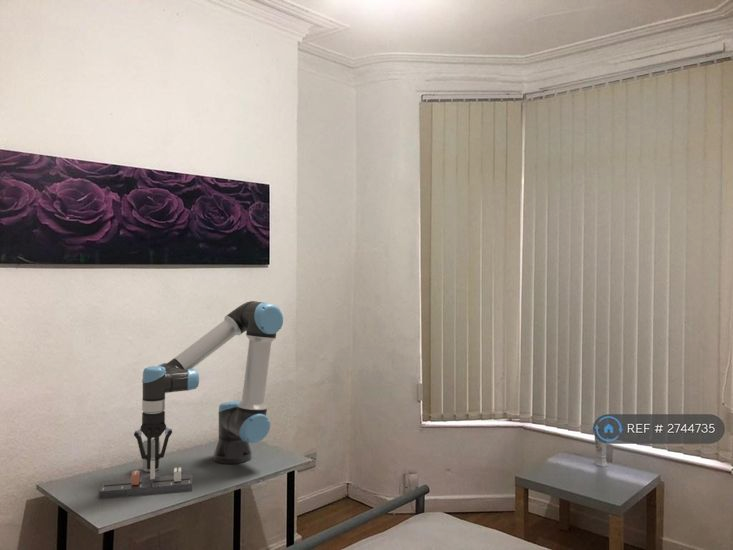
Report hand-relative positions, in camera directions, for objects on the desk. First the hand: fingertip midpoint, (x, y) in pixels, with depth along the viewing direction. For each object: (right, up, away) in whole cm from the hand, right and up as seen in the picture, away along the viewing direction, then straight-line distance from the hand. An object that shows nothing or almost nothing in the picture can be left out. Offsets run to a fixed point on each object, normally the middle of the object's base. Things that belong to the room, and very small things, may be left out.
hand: (152, 477), depth 212 cm
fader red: (-5, -1, -2) cm, 6 cm away
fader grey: (+8, -1, +2) cm, 8 cm away
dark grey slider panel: (-2, -4, 0) cm, 4 cm away
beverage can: (-7, -4, +19) cm, 21 cm away
